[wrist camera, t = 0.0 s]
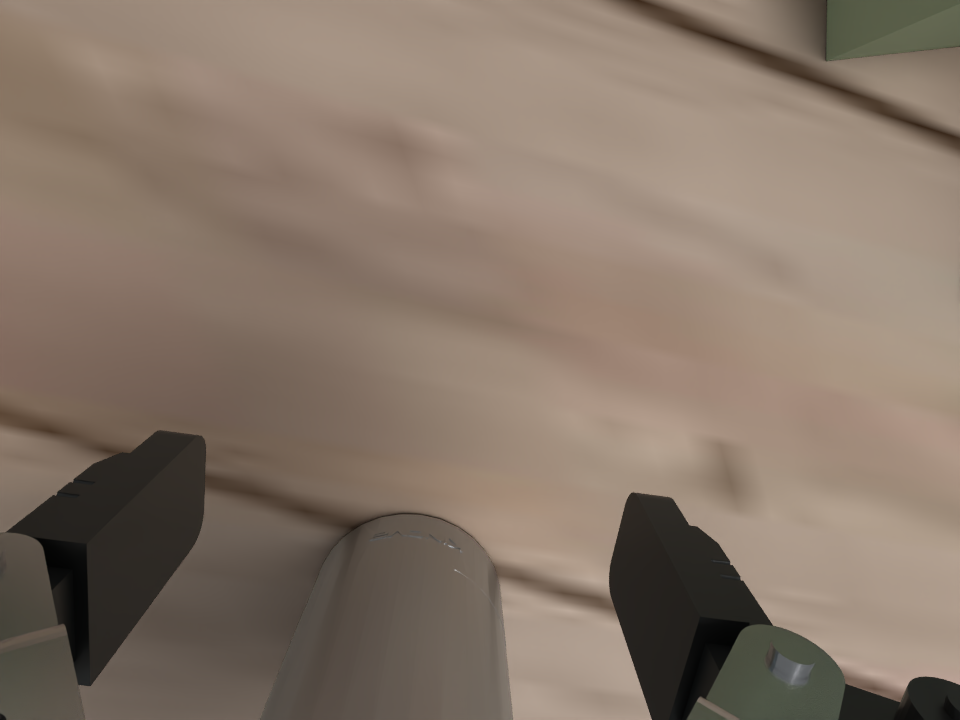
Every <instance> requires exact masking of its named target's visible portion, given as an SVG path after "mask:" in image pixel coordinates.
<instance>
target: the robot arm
mask: <svg viewBox="0 0 960 720" xmlns="http://www.w3.org/2000/svg"><path fill="white" fill-rule="evenodd" d="M205 462H206V444H205V440H204V438H203V437H202V436H199V435H192V434H184V433H177V432H169V431H161V430H159V431H157V432H155V433H154V434H153V435H152V436H150V437H149V438H148V439H147V440H146V441H144V442H143V443H142V444H141V445H140V446H138V447H137V448H136V449H135V450H133V451H132V452H131V453H123V452H122V453H119V454H117V455H114V456H112V457H109V458H107V459H104V460H102V461H99V462H97V463H94V464H93V465H91V466H90V467H89V468H88V469H86V470H85V471H84V472H82V473H81V474H80V475H79V476H77V477H76V478H75V479H74V481H73V483H72V482H70V483H68V484H67V485H66V486H64V487H63V488H62V489H61V490H59V491H58V492H57V495H56V496H55V495H53V496H52V497H50V498H49V499H48V500H47V501H45V502H44V503H43V504H41V505H40V506H39V507H38V508H36V509H35V510H34V511H32V512H31V513H30V514H29V515H27V516H26V517H25V518H23V519H22V520H21V521H20V522H18V523H17V524H16V525H14V526H13V527H12V528H11V529H9V530H8V531H7V532H5V533H1V532H0V720H85V716H84V711H83V706H82V702H81V697H80V692H79V687H78V685H84V686H91V685H92V683H93V682H94V681H95V679H96V678H97V677H98V675H99V674H100V673H101V671H102V670H103V668H104V667H105V666H106V664H107V663H108V662H109V660H110V659H111V658H112V656H113V655H114V654H115V652H116V651H117V649H118V648H119V647H120V645H121V644H122V643H123V641H124V640H125V639H126V637H127V636H128V634H129V633H130V632H131V630H132V629H133V628H134V626H135V625H136V624H137V622H138V621H139V620H140V618H141V617H142V615H143V614H144V613H145V611H146V610H147V609H148V607H149V606H150V605H151V603H152V602H153V600H154V599H155V598H156V596H157V595H158V594H159V592H160V591H161V590H162V588H163V587H164V586H165V584H166V583H167V581H168V580H169V579H170V577H171V576H172V575H173V573H174V572H175V571H176V569H177V568H178V566H179V565H180V564H181V562H182V561H183V560H184V558H185V557H186V556H187V554H188V553H189V552H190V550H191V549H192V547H193V546H194V544H195V542H196V540H197V538H198V535H199V533H200V529H201V526H202V521H203V515H204V492H205ZM609 587H610V594H611V598H612V601H613V604H614V607H615V610H616V613H617V616H618V619H619V622H620V625H621V628H622V631H623V634H624V637H625V640H626V643H627V646H628V649H629V652H630V655H631V658H632V661H633V664H634V667H635V670H636V673H637V676H638V679H639V682H640V685H641V688H642V691H643V694H644V697H645V700H646V703H647V706H648V709H649V712H650V715H651V718H652V720H960V685H958V684H956V683H953V682H950V681H947V680H944V679H939V678H934V677H918V678H914V679H913V680H911V681H910V682H909V684H908V686H907V688H906V691H905V693H904V695H903V698H902V700H901V702H897V701H894V700H891V699H888V698H885V697H882V696H880V695H877V694H874V693H871V692H868V691H865V690H862V689H859V688H856V687H853V686H850V685H848V684H845V679H844V675H843V673H842V671H841V669H840V668H839V667H838V665H837V664H836V662H835V661H834V660H833V659H832V658H831V657H830V656H829V655H828V654H827V653H826V652H825V651H824V650H822V649H821V648H820V647H818V646H817V645H816V644H814V643H812V642H811V641H809V640H808V639H806V638H804V637H802V636H800V635H798V634H796V633H794V632H792V631H789V630H786V629H783V628H780V627H776V626H773V625H772V623H771V622H770V620H769V619H768V617H767V616H766V614H765V613H764V611H763V610H762V608H761V607H760V605H759V604H758V602H757V601H756V599H755V598H754V596H753V595H752V593H751V592H750V590H749V589H748V587H747V586H746V584H745V583H744V581H741V580H740V575H739V574H738V572H737V571H736V569H735V568H734V566H733V565H730V560H729V559H728V558H727V556H726V555H725V553H724V552H723V550H722V549H721V547H720V546H719V544H718V543H717V542H716V541H714V540H713V539H712V538H711V537H709V536H708V535H707V534H706V533H704V532H703V531H702V530H701V529H699V528H698V527H696V526H689V524H688V522H687V521H686V519H685V518H684V516H683V514H682V513H681V511H680V510H679V508H678V506H677V505H676V503H675V502H674V500H673V499H672V498H670V497H663V496H656V495H648V494H641V493H631V494H630V495H629V497H628V499H627V501H626V504H625V508H624V512H623V516H622V520H621V524H620V528H619V532H618V536H617V540H616V544H615V548H614V552H613V556H612V560H611V565H610V573H609ZM260 720H513V712H512V703H511V693H510V683H509V673H508V663H507V653H506V641H505V631H504V621H503V612H502V602H501V592H500V584H499V580H498V577H497V574H496V570H495V567H494V565H493V564H492V562H491V560H490V558H489V557H488V555H487V553H486V552H485V550H484V549H483V548H482V547H481V546H480V545H479V544H478V543H477V542H476V540H475V539H474V538H472V537H471V536H470V535H468V534H467V533H465V532H464V531H463V530H461V529H460V528H459V527H456V526H454V525H452V524H450V523H448V522H445V521H443V520H441V519H437V518H433V517H428V516H424V515H412V514H399V515H392V516H386V517H381V518H378V519H375V520H373V521H370V522H367V523H365V524H362V525H361V526H359V527H358V528H356V529H354V530H353V531H351V532H350V533H348V534H347V535H345V536H344V537H343V538H342V539H341V540H340V541H339V542H338V543H337V544H336V545H335V546H334V547H333V549H332V550H331V552H330V553H329V555H328V556H327V558H326V560H325V561H324V563H323V565H322V567H321V570H320V572H319V575H318V577H317V580H316V582H315V585H314V587H313V590H312V592H311V595H310V597H309V600H308V602H307V604H306V607H305V609H304V611H303V614H302V616H301V618H300V621H299V623H298V626H297V628H296V631H295V633H294V635H293V638H292V640H291V643H290V645H289V648H288V650H287V653H286V655H285V658H284V660H283V663H282V665H281V668H280V670H279V673H278V675H277V678H276V680H275V683H274V685H273V687H272V690H271V692H270V695H269V697H268V700H267V702H266V705H265V707H264V710H263V712H262V715H261V717H260Z"/></svg>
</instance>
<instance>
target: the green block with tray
mask: <svg viewBox="0 0 960 720" xmlns="http://www.w3.org/2000/svg"><path fill="white" fill-rule="evenodd" d="M958 46H960V0H827V45H826V61H832V60H841V59H850V58H859V57H868V56H877V55H886V54H895V53H904V52H913V51H922V50H931V49H940V48H949V47H958Z"/></svg>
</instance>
